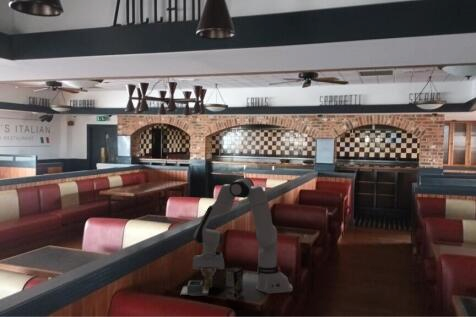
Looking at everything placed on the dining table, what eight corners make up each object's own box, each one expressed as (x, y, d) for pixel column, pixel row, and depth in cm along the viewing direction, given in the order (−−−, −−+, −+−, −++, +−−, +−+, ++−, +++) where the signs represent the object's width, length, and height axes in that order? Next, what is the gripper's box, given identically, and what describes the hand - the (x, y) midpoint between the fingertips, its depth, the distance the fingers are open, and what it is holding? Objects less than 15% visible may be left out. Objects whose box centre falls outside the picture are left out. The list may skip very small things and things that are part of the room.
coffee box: (235, 300, 224) (235, 272, 224) (225, 298, 227) (225, 270, 227) (243, 295, 232) (243, 268, 231) (234, 293, 235) (233, 266, 235)
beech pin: (212, 285, 250) (211, 267, 250) (211, 287, 245) (211, 270, 245) (205, 285, 250) (204, 267, 250) (204, 287, 246) (204, 270, 245)
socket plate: (209, 288, 244) (209, 279, 244) (207, 295, 232) (207, 286, 232) (183, 288, 244) (183, 279, 244) (180, 295, 232) (180, 286, 232)
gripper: (192, 252, 254) (191, 272, 245) (224, 252, 254) (223, 272, 245) (193, 257, 259) (192, 277, 249) (224, 257, 259) (224, 277, 249)
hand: (208, 274), depth 247 cm, fingers closed on beech pin, 4 cm apart
